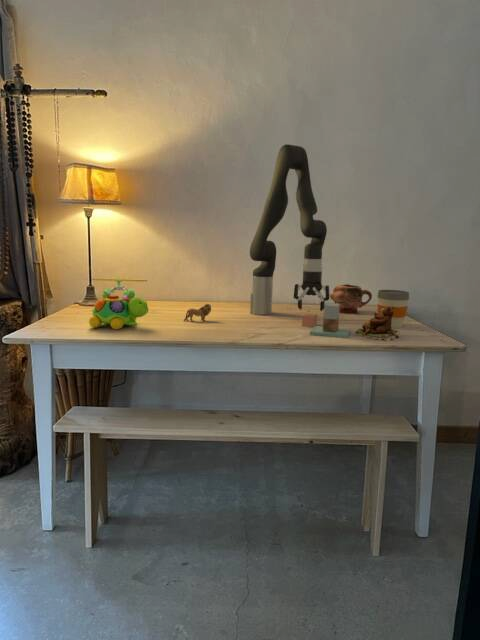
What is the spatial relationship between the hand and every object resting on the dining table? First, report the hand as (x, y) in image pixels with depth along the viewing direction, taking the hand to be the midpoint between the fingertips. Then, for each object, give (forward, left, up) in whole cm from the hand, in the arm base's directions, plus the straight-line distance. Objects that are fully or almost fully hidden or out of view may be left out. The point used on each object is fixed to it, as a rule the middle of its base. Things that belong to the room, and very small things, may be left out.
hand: (310, 310), depth 198 cm
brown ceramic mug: (+13, +39, -7) cm, 41 cm away
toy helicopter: (-89, +1, -7) cm, 89 cm away
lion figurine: (-46, -10, -7) cm, 47 cm away
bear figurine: (+27, -7, -7) cm, 29 cm away
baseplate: (+10, -11, -7) cm, 16 cm away
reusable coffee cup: (+32, +13, -7) cm, 35 cm away
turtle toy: (-70, -31, -7) cm, 77 cm away
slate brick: (+10, -11, -1) cm, 14 cm away
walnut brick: (+10, -11, -6) cm, 15 cm away
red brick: (0, 0, -7) cm, 7 cm away
